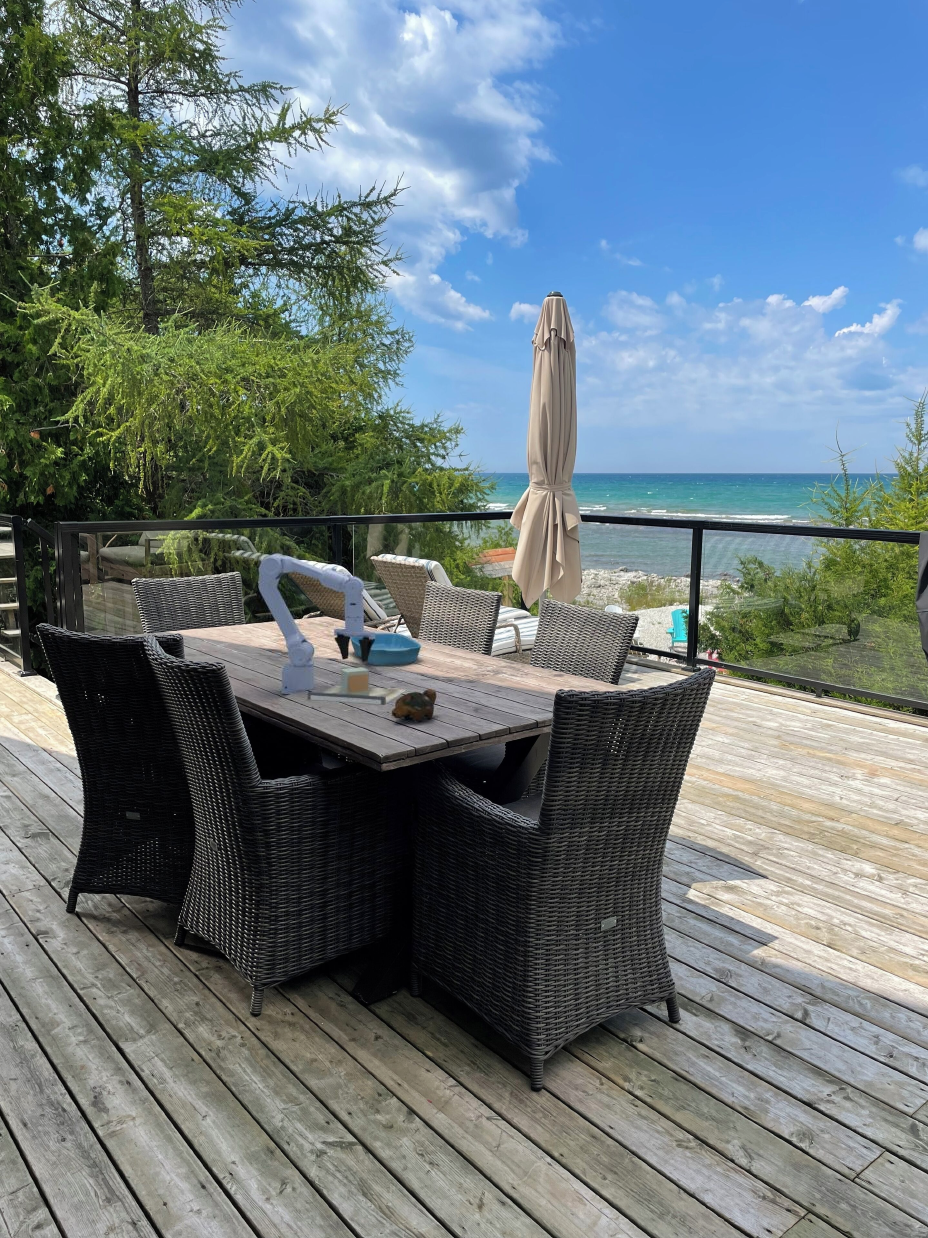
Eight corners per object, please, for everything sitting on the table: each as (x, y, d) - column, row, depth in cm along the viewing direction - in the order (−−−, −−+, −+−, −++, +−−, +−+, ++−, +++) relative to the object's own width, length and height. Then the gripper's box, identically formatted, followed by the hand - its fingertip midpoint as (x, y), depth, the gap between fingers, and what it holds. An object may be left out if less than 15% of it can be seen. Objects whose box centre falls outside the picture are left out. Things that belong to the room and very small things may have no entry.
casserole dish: (428, 665, 327) (428, 646, 326) (368, 670, 319) (368, 650, 318) (399, 648, 361) (399, 631, 360) (344, 652, 353) (344, 634, 352)
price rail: (307, 704, 268) (307, 692, 267) (309, 703, 269) (309, 691, 268) (384, 709, 261) (384, 697, 261) (385, 708, 263) (385, 696, 262)
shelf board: (310, 703, 269) (310, 698, 269) (334, 690, 286) (334, 685, 286) (386, 708, 263) (386, 703, 263) (406, 694, 280) (406, 689, 280)
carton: (341, 695, 272) (340, 669, 271) (363, 693, 276) (362, 667, 274) (347, 699, 268) (347, 672, 267) (369, 696, 271) (369, 670, 270)
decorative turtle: (446, 717, 253) (446, 690, 251) (408, 731, 242) (407, 703, 241) (421, 709, 260) (421, 683, 258) (383, 723, 249) (382, 695, 247)
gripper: (327, 616, 279) (328, 659, 281) (365, 620, 272) (365, 664, 274) (341, 613, 285) (342, 656, 287) (379, 617, 278) (379, 660, 280)
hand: (354, 660), depth 281 cm, fingers open, 7 cm apart
